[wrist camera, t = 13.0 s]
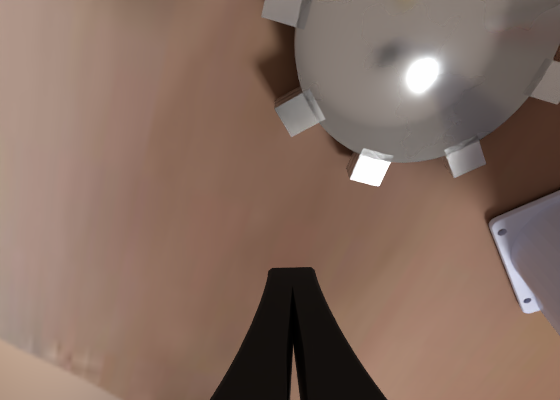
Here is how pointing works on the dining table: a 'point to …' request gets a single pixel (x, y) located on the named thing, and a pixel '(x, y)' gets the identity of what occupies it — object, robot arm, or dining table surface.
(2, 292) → the dining table surface
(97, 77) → the dining table surface
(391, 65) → the sprocket
